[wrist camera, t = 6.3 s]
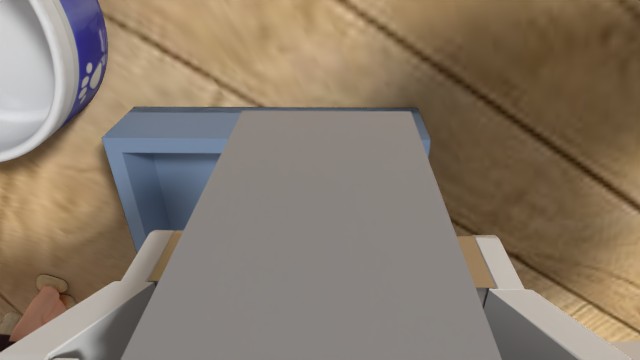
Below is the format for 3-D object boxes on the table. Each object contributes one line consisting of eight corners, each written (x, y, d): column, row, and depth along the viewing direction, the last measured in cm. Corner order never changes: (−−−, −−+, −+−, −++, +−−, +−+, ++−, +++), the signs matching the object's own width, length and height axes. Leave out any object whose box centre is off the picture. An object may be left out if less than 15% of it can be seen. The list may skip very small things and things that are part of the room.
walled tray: (417, 107, 30) (430, 139, 26) (394, 307, 40) (400, 354, 36) (134, 106, 31) (101, 137, 26) (183, 303, 41) (166, 348, 37)
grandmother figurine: (18, 268, 39) (-101, 401, 29) (57, 263, 39) (-50, 397, 28) (59, 324, 43) (-33, 460, 33) (94, 321, 43) (13, 457, 32)
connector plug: (410, 111, 11) (568, 539, 4) (396, 242, 13) (472, 673, 6) (242, 110, 11) (42, 518, 4) (256, 240, 14) (152, 656, 6)
